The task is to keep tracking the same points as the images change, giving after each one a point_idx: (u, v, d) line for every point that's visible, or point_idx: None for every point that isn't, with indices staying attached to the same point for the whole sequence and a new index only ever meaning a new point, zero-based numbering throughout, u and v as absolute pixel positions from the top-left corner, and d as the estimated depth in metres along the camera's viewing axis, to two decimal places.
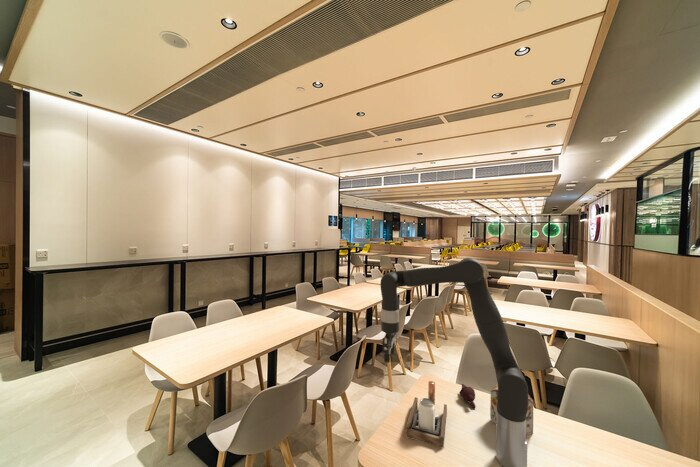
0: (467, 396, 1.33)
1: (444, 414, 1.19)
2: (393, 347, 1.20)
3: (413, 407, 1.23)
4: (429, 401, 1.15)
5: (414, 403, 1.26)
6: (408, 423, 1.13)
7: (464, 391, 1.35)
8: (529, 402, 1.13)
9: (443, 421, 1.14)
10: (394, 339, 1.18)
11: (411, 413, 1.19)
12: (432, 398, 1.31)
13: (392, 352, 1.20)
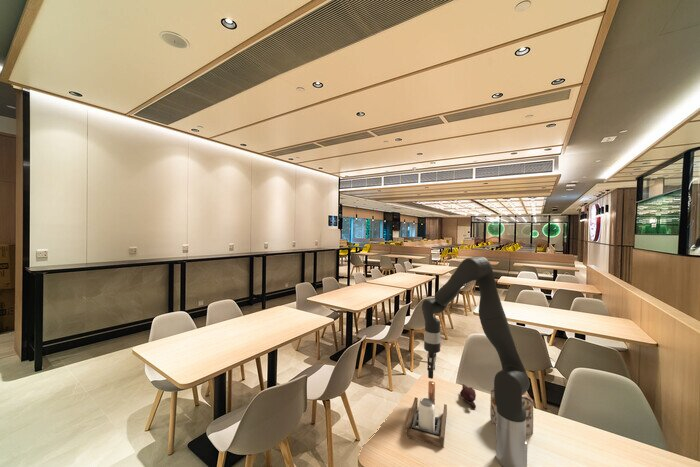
0: (467, 396, 1.32)
1: (444, 414, 1.19)
2: None
3: (413, 407, 1.23)
4: (429, 401, 1.15)
5: (414, 403, 1.26)
6: (408, 423, 1.13)
7: (464, 391, 1.34)
8: (529, 402, 1.13)
9: (443, 421, 1.14)
10: None
11: (411, 413, 1.19)
12: (432, 398, 1.31)
13: None
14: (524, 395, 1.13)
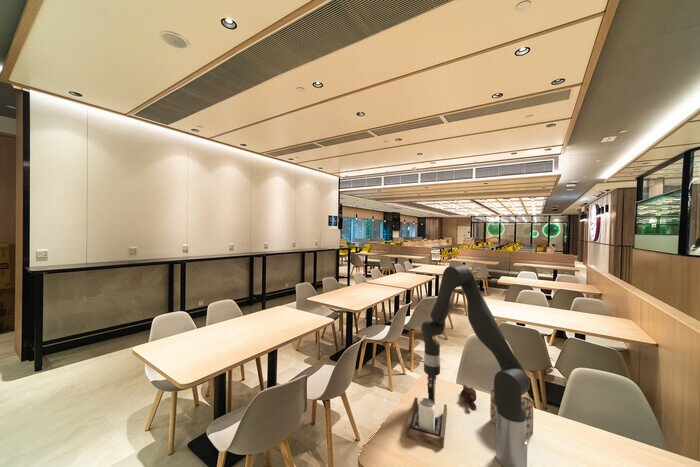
0: (468, 397, 1.32)
1: (444, 414, 1.19)
2: None
3: (413, 407, 1.23)
4: (429, 401, 1.15)
5: (414, 403, 1.26)
6: (408, 423, 1.13)
7: (465, 392, 1.34)
8: (529, 402, 1.13)
9: (443, 421, 1.14)
10: None
11: (411, 413, 1.19)
12: None
13: None
14: (524, 395, 1.13)
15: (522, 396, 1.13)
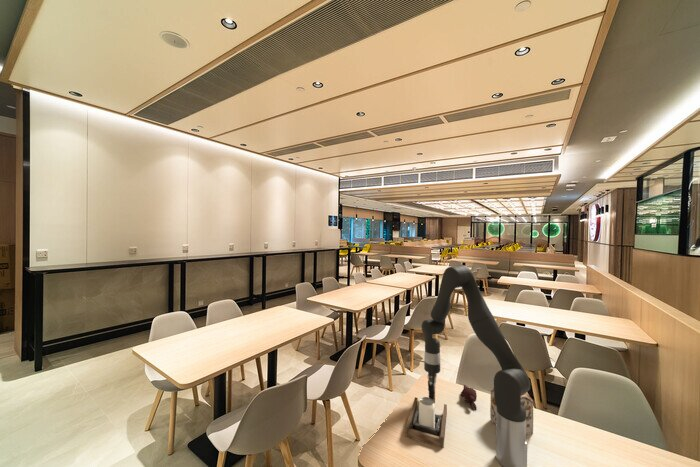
0: (468, 397, 1.32)
1: (444, 414, 1.19)
2: None
3: (413, 407, 1.23)
4: (429, 400, 1.16)
5: (414, 403, 1.26)
6: (408, 423, 1.13)
7: (465, 392, 1.34)
8: (529, 402, 1.13)
9: (443, 421, 1.14)
10: None
11: (411, 413, 1.19)
12: None
13: None
14: (524, 395, 1.13)
15: (522, 396, 1.13)
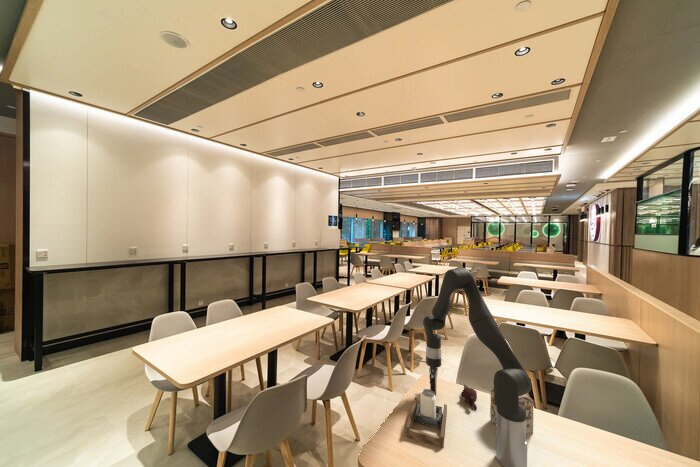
0: (468, 397, 1.32)
1: (444, 414, 1.19)
2: None
3: (413, 407, 1.23)
4: (430, 391, 1.22)
5: (414, 403, 1.26)
6: (408, 423, 1.13)
7: (465, 392, 1.34)
8: (529, 402, 1.13)
9: (443, 421, 1.14)
10: (436, 372, 1.40)
11: (411, 413, 1.19)
12: None
13: None
14: (524, 395, 1.13)
15: (522, 396, 1.13)
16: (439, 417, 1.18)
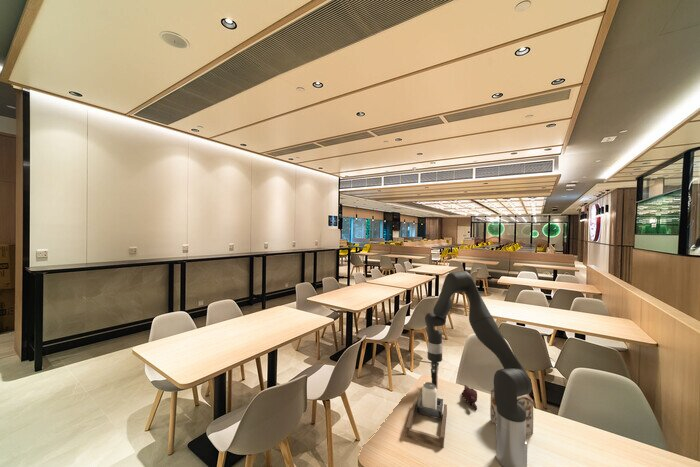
0: (469, 398, 1.31)
1: (444, 414, 1.19)
2: None
3: (413, 407, 1.23)
4: (431, 384, 1.28)
5: (414, 403, 1.26)
6: (408, 423, 1.13)
7: (466, 392, 1.33)
8: (529, 402, 1.13)
9: (443, 421, 1.14)
10: (437, 366, 1.46)
11: (411, 413, 1.19)
12: None
13: None
14: (524, 395, 1.13)
15: (522, 396, 1.13)
16: (440, 408, 1.23)
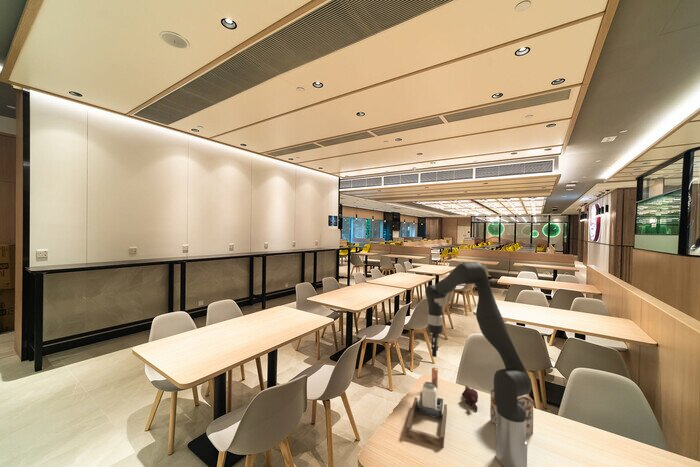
0: (469, 398, 1.31)
1: (444, 414, 1.19)
2: None
3: (413, 407, 1.23)
4: (431, 384, 1.29)
5: (414, 403, 1.26)
6: (408, 423, 1.13)
7: (466, 393, 1.33)
8: (529, 402, 1.13)
9: (443, 421, 1.14)
10: None
11: (411, 413, 1.19)
12: (435, 383, 1.44)
13: None
14: (524, 395, 1.13)
15: (522, 396, 1.13)
16: (440, 408, 1.24)
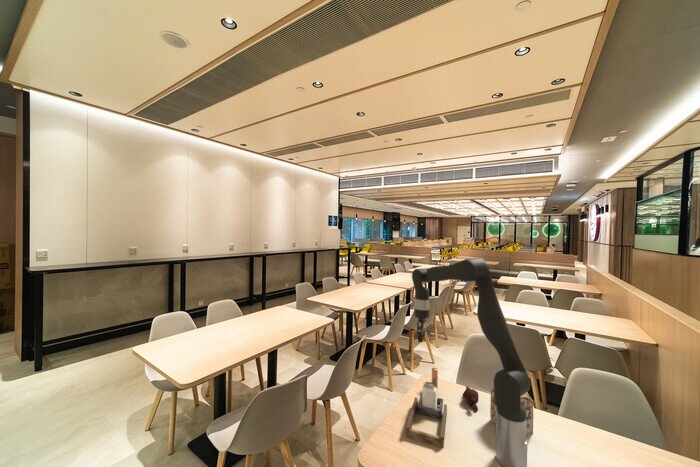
0: (470, 398, 1.31)
1: (444, 414, 1.19)
2: (423, 331, 1.44)
3: (413, 407, 1.23)
4: (431, 384, 1.29)
5: (414, 403, 1.26)
6: (408, 423, 1.13)
7: (467, 393, 1.33)
8: (529, 402, 1.13)
9: (443, 421, 1.14)
10: (425, 324, 1.42)
11: (411, 413, 1.19)
12: (435, 383, 1.44)
13: (423, 335, 1.44)
14: (524, 395, 1.13)
15: (522, 396, 1.13)
16: (440, 408, 1.24)
